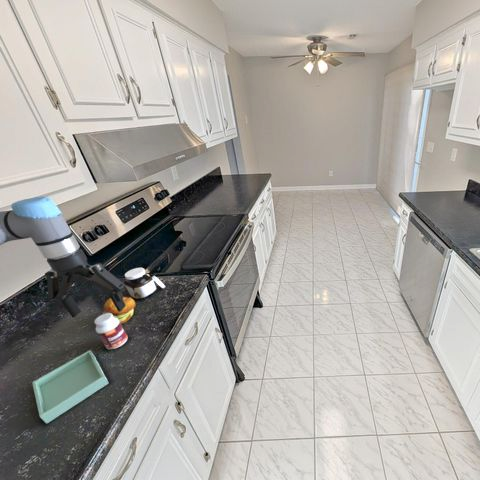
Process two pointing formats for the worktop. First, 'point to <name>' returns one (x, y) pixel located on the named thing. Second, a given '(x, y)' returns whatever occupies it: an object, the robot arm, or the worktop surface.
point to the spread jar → (141, 283)
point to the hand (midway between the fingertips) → (99, 311)
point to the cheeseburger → (121, 315)
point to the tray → (68, 386)
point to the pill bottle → (110, 331)
